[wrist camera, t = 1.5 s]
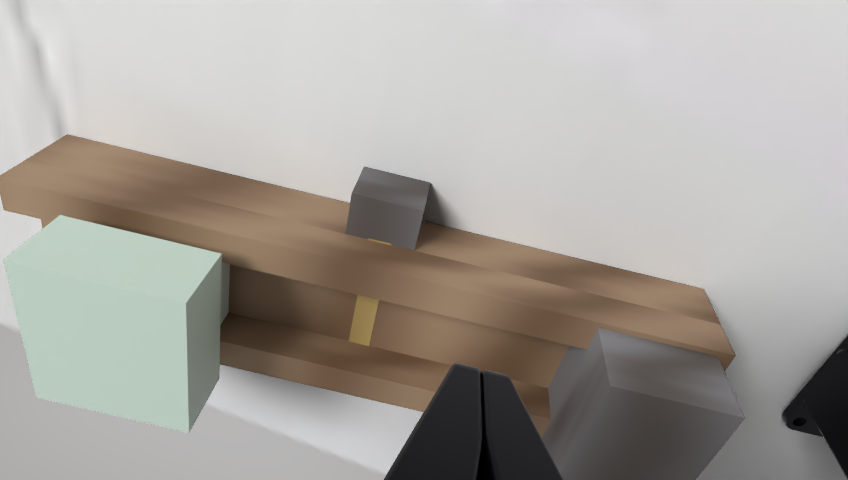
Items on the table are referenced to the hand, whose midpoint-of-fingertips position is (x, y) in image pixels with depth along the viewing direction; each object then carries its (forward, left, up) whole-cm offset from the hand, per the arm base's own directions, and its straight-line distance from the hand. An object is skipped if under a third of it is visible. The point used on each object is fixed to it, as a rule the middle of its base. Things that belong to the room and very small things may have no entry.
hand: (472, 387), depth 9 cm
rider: (+9, +8, -10) cm, 16 cm away
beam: (+2, +8, -12) cm, 14 cm away
